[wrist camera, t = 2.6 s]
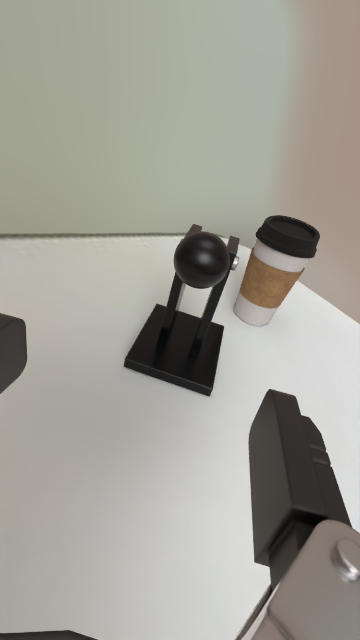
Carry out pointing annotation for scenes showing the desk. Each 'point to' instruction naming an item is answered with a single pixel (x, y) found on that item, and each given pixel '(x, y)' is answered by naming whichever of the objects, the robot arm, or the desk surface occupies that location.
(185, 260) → the black ball knob lever
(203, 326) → the black lever stand
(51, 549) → the desk surface
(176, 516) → the desk surface
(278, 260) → the coffee cup
